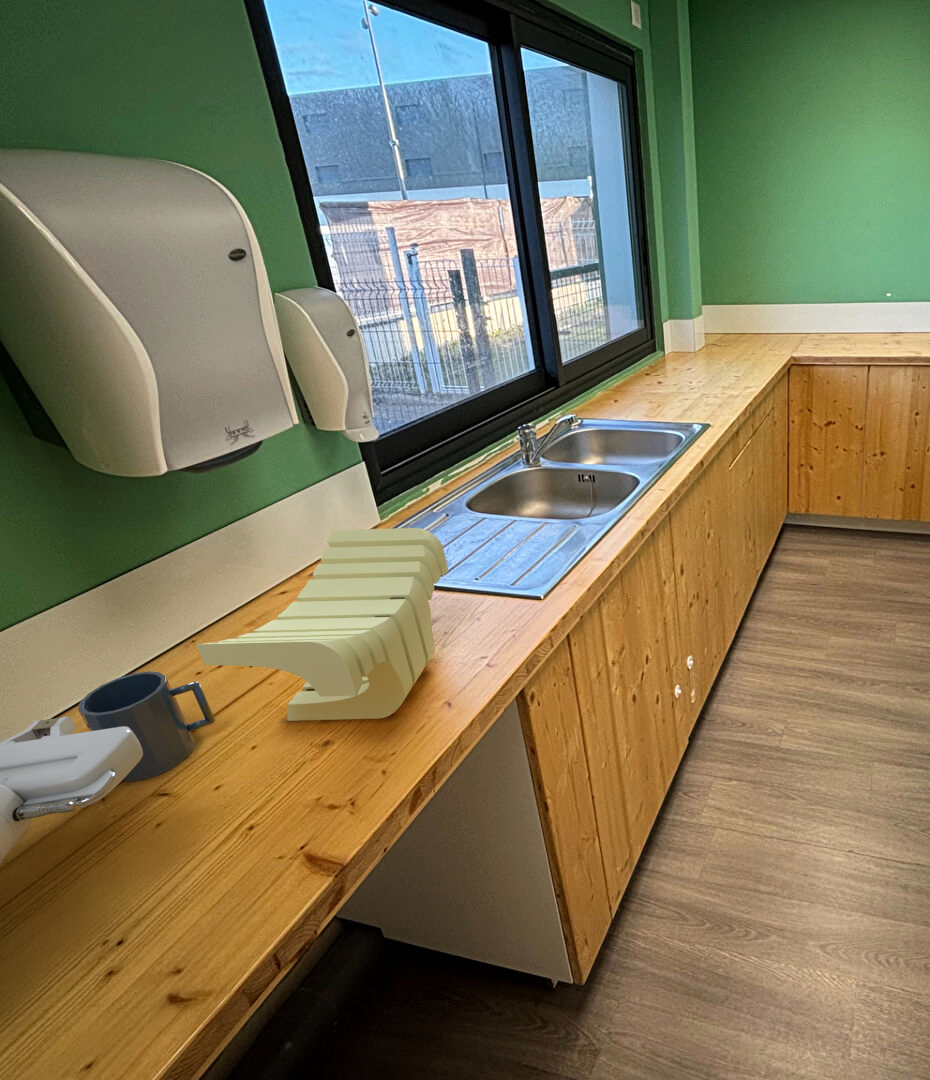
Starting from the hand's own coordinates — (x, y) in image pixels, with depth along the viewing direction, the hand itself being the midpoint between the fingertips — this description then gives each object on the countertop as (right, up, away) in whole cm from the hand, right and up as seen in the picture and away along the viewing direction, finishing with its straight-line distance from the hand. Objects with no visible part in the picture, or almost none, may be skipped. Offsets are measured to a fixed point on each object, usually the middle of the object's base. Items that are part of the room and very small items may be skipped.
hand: (56, 723), depth 72 cm
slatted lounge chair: (+19, -2, +27) cm, 33 cm away
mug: (-1, -8, +16) cm, 18 cm away
